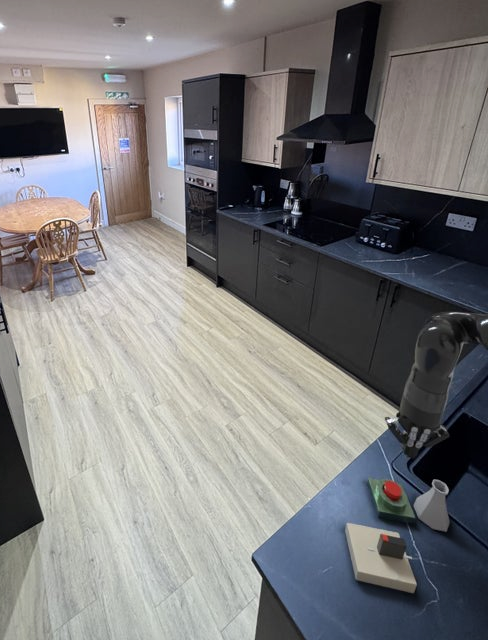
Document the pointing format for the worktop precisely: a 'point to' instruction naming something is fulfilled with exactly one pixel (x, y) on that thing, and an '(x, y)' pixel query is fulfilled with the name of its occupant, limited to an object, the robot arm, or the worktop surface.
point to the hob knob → (391, 546)
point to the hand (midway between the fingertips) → (408, 454)
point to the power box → (390, 502)
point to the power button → (392, 490)
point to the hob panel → (377, 560)
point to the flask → (433, 506)
